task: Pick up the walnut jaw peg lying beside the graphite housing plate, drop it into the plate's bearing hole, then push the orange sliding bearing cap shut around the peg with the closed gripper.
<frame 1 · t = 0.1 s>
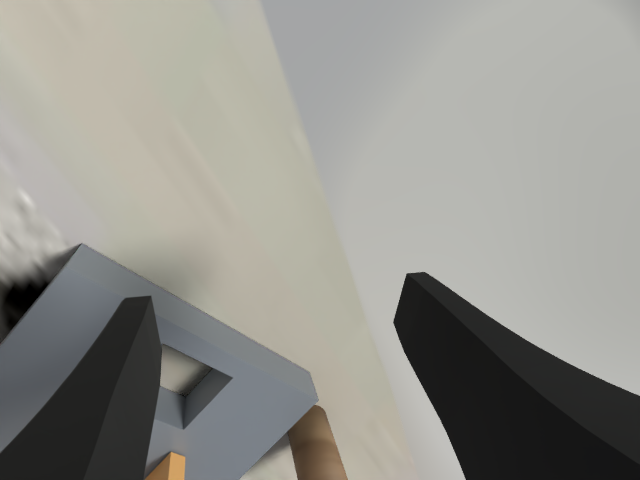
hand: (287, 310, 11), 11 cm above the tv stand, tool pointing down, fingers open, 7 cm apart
housing: (151, 386, 23), on the tv stand
jaw peg: (306, 420, 28), on the tv stand
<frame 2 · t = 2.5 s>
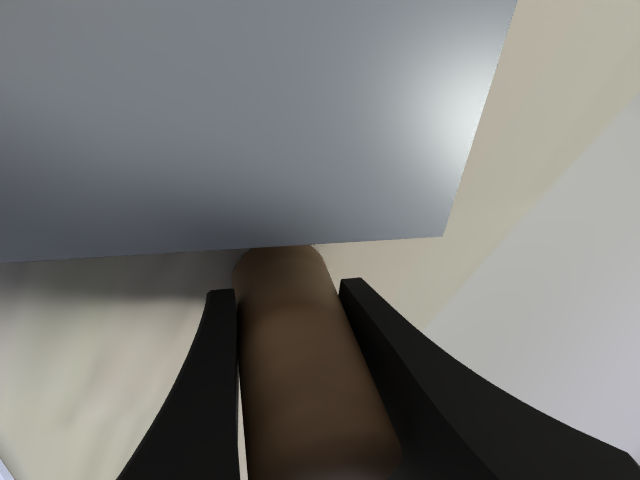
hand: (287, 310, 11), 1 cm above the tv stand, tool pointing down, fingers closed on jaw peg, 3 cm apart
jaw peg: (279, 278, 12), on the tv stand, touching gripper
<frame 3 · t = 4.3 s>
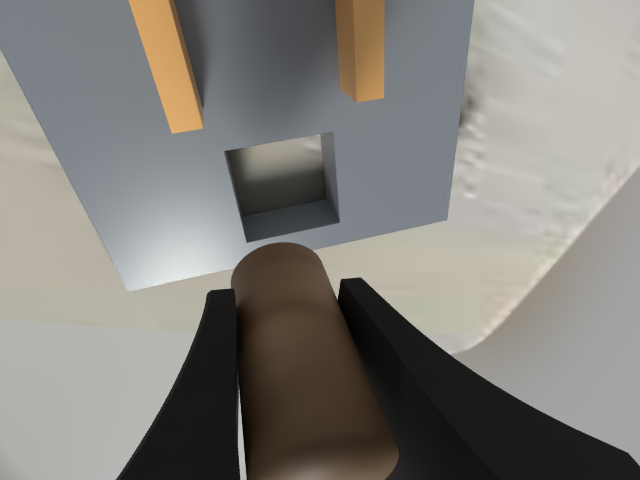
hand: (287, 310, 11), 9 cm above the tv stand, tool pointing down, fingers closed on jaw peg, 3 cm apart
housing: (270, 116, 17), on the tv stand
jaw peg: (278, 281, 12), point 8 cm above the tv stand, touching gripper
when the fingers open (3 cm above the tv stand, at t = 5.9 s): jaw peg drops 2 cm, resting in housing.
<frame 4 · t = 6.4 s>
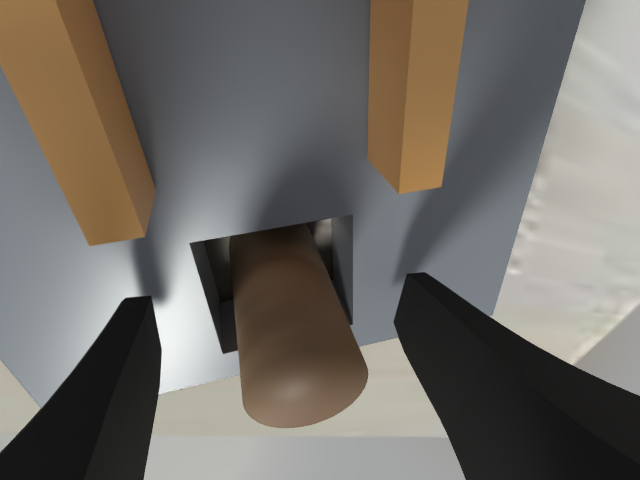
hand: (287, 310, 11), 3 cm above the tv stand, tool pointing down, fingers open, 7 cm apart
housing: (261, 180, 12), on the tv stand
jaw peg: (271, 246, 14), resting in housing
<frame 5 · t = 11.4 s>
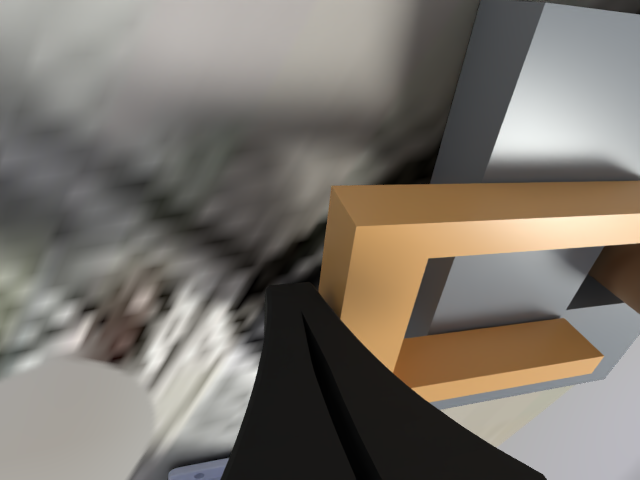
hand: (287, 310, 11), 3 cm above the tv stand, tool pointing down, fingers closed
housing: (540, 231, 16), on the tv stand
bearing cap: (488, 298, 12), point 4 cm above the tv stand, slide at 4.3 cm, touching gripper
jaw peg: (588, 229, 17), resting in housing
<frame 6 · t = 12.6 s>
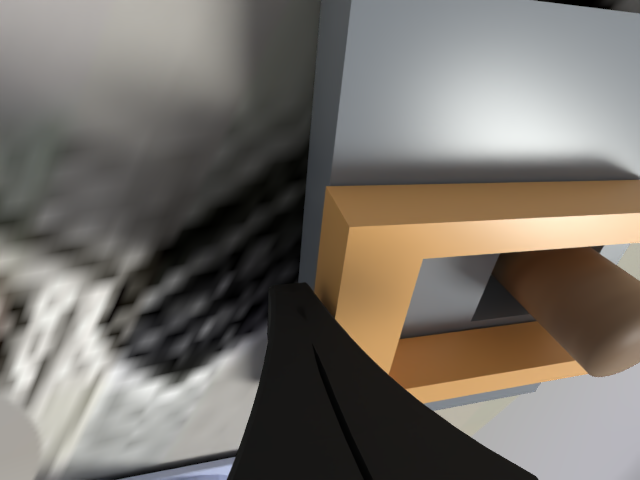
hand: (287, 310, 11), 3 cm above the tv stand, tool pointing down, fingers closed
housing: (447, 236, 15), on the tv stand
bearing cap: (484, 299, 12), point 4 cm above the tv stand, slide at -0.1 cm, touching gripper
jaw peg: (503, 233, 16), resting in housing
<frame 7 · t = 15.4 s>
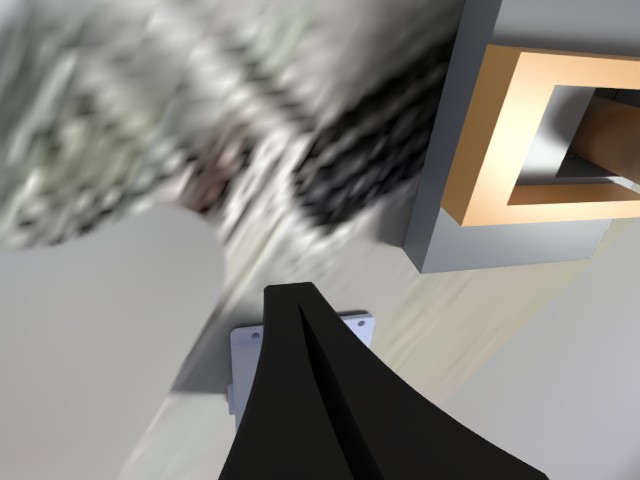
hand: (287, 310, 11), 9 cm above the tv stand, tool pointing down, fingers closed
housing: (534, 120, 21), on the tv stand
bearing cap: (575, 142, 18), point 4 cm above the tv stand, slide at 0.0 cm
jaw peg: (573, 121, 21), resting in housing
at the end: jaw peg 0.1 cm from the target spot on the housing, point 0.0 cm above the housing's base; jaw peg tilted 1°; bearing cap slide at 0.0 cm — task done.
